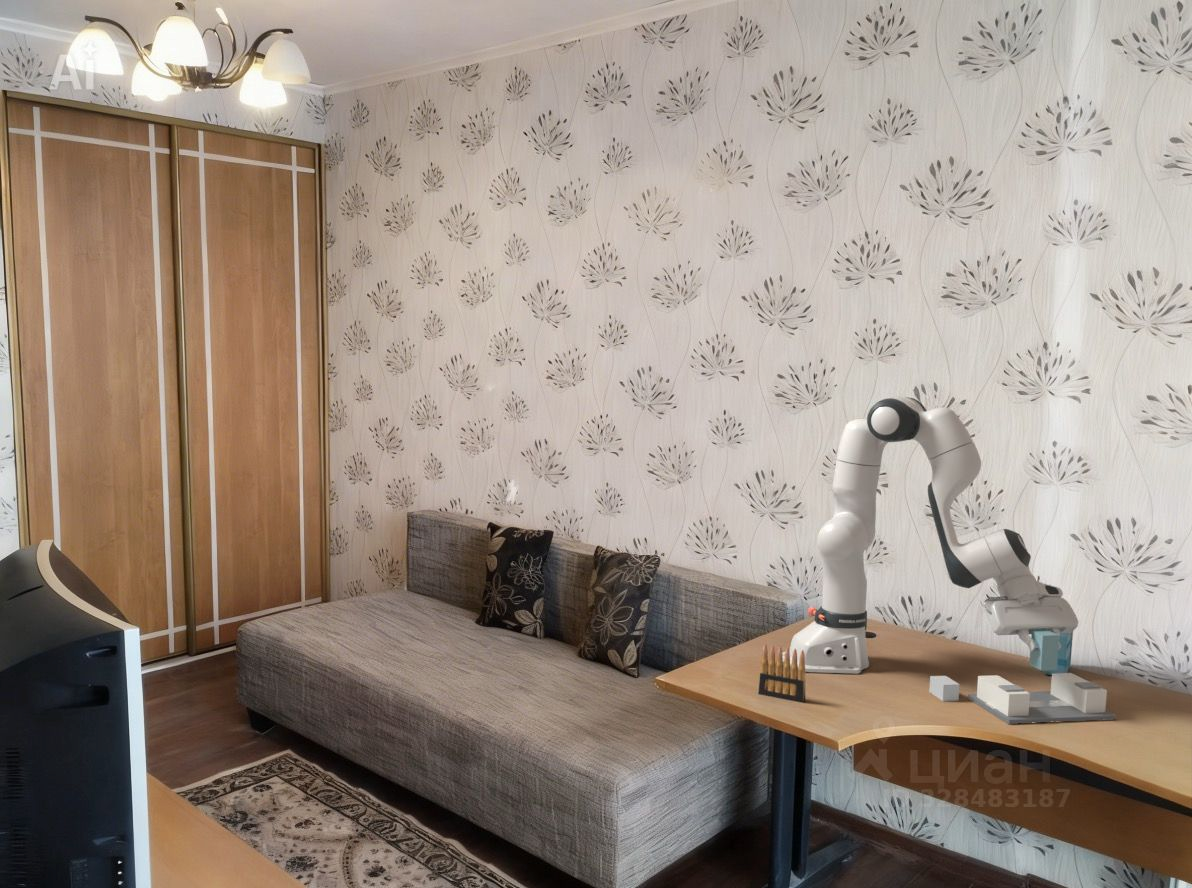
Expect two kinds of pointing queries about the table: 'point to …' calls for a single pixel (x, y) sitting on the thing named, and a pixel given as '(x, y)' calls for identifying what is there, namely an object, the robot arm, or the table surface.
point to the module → (1045, 650)
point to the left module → (1003, 695)
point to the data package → (1063, 654)
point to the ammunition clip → (782, 675)
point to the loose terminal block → (944, 688)
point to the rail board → (1044, 710)
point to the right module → (1078, 692)
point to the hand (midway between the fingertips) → (1046, 649)
